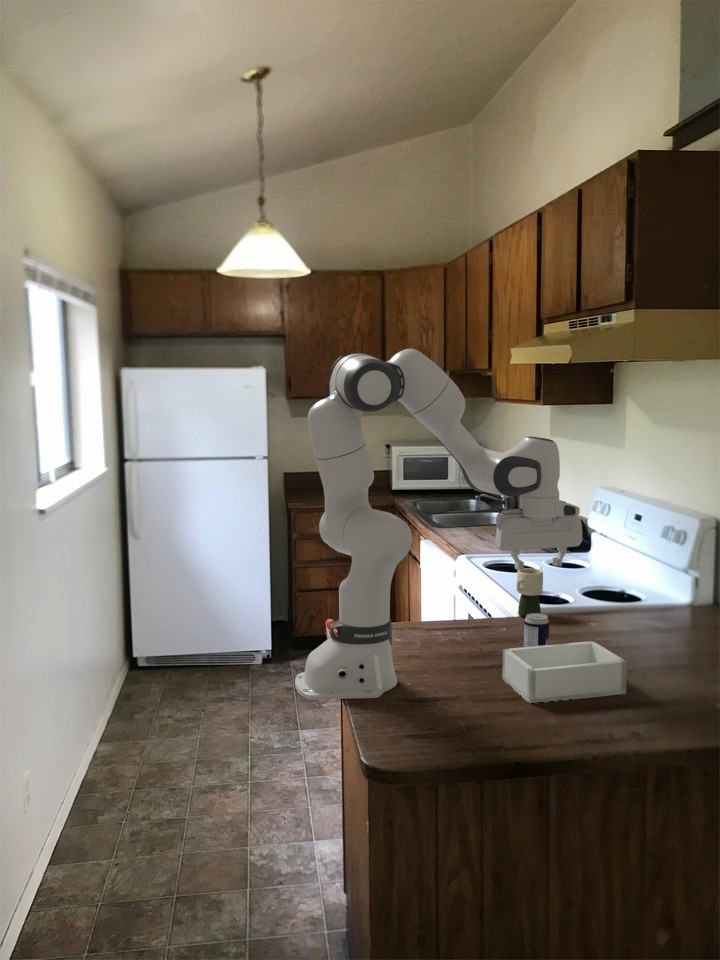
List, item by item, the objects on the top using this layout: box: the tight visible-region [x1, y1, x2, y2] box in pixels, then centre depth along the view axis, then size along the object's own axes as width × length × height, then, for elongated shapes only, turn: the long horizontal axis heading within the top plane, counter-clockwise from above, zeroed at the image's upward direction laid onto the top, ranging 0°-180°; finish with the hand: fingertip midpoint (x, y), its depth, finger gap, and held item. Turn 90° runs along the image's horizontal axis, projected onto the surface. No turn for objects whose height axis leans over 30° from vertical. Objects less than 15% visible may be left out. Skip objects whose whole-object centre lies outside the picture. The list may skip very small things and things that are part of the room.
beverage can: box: [523, 613, 550, 647], centre depth 184 cm, size 6×6×12 cm
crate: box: [501, 640, 628, 705], centre depth 172 cm, size 22×14×7 cm, turn 103°
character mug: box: [516, 567, 544, 618], centre depth 224 cm, size 11×7×13 cm, turn 129°
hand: (538, 567), depth 182 cm, fingers open, 8 cm apart
